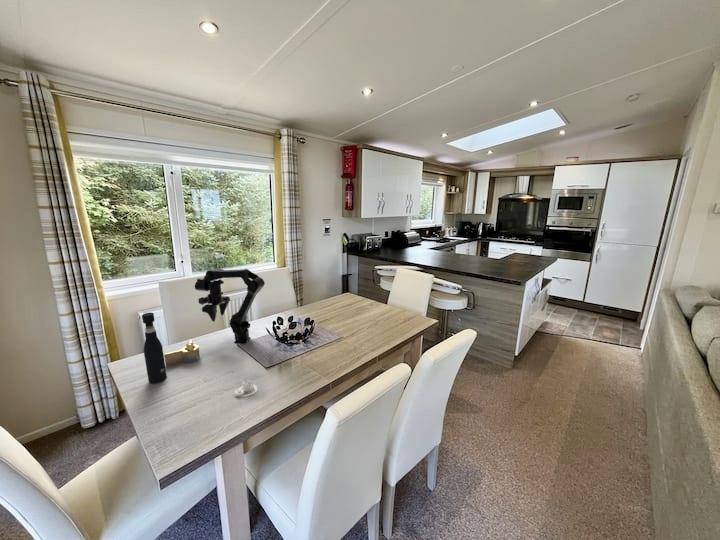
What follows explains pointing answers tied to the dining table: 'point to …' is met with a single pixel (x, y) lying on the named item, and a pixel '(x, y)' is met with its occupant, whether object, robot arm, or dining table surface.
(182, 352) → the hinge
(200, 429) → the dining table surface
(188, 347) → the hinge pin
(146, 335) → the black water bottle
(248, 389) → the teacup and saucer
